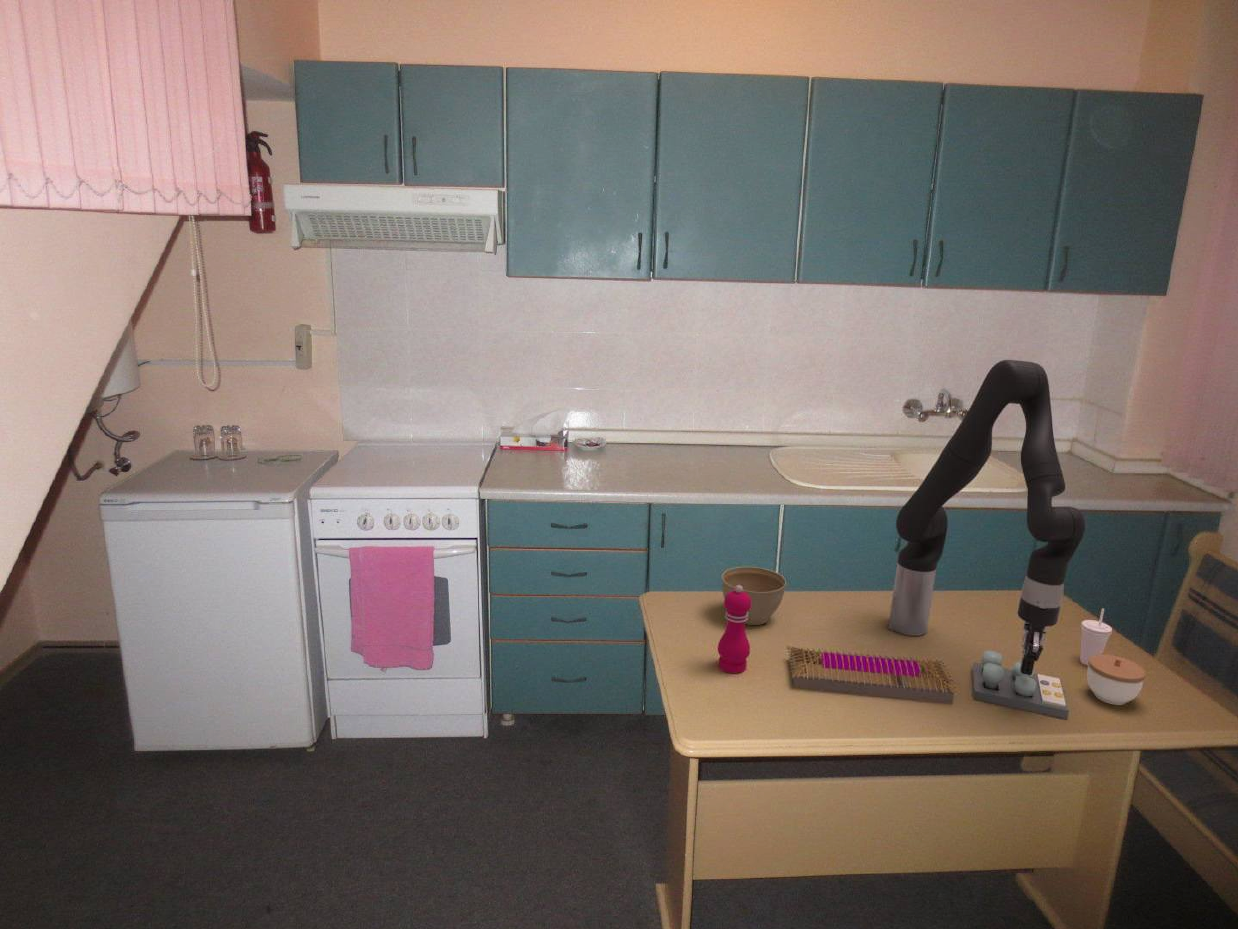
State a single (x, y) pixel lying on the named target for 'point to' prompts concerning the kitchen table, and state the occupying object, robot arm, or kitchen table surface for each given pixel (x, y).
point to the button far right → (1019, 671)
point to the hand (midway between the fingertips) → (1025, 672)
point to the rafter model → (871, 666)
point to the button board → (1043, 701)
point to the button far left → (991, 658)
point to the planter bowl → (756, 590)
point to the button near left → (992, 675)
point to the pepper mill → (735, 632)
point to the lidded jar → (1114, 678)
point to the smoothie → (1093, 638)
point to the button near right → (1025, 686)
